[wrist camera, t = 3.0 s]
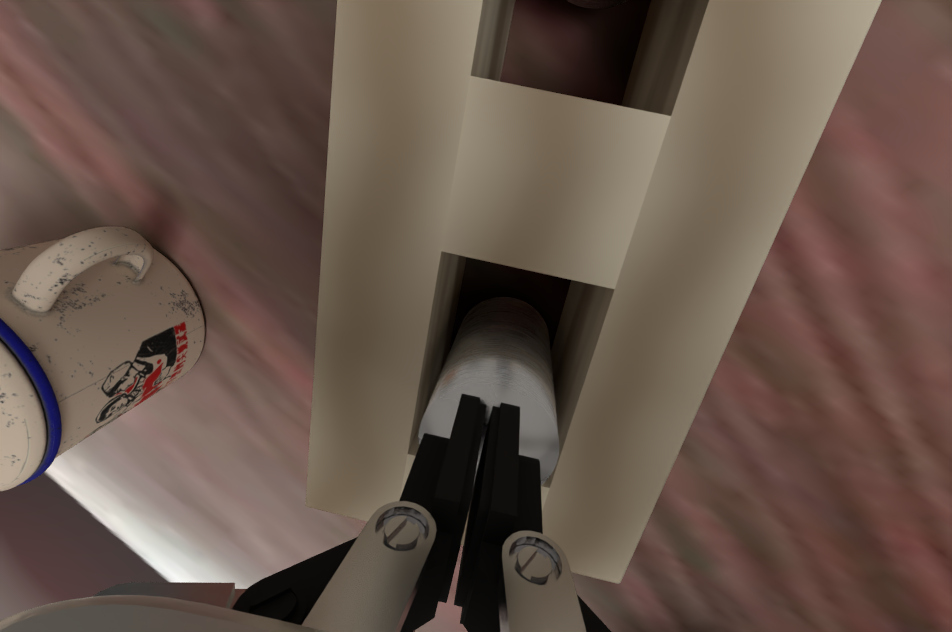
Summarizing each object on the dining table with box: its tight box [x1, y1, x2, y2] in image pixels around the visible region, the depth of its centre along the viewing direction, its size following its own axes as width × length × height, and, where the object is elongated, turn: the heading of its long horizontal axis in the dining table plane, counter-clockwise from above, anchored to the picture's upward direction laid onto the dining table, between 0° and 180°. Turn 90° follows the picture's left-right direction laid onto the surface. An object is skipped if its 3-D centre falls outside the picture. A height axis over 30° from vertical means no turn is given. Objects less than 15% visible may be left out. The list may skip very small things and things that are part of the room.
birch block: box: [306, 0, 882, 584], centre depth 15 cm, size 12×26×8 cm, turn 169°
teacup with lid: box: [0, 226, 205, 491], centre depth 18 cm, size 12×9×12 cm
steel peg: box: [418, 297, 559, 485], centre depth 16 cm, size 4×4×8 cm
